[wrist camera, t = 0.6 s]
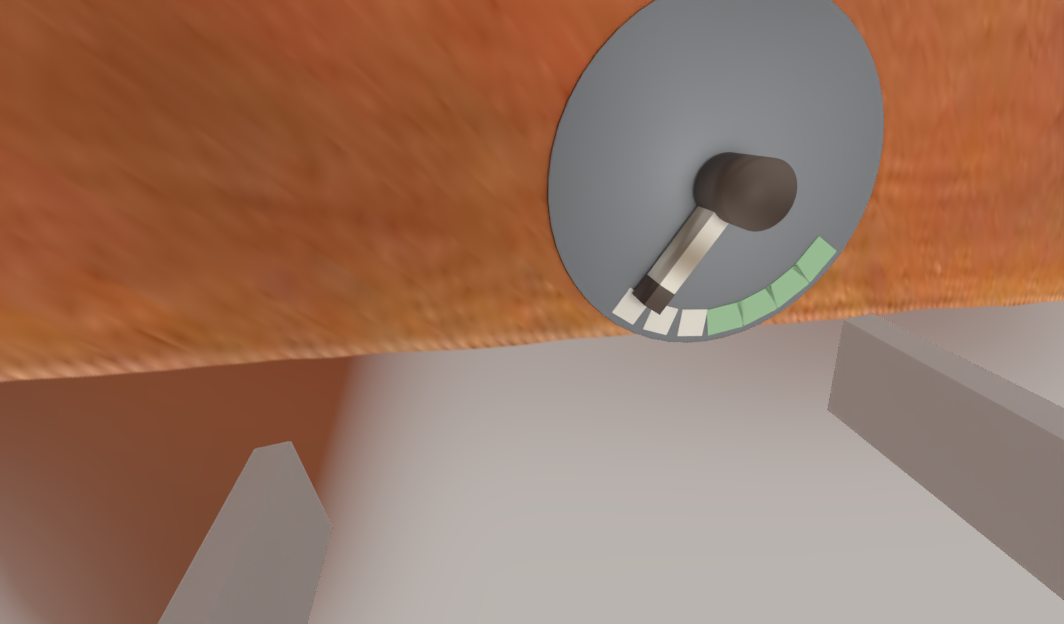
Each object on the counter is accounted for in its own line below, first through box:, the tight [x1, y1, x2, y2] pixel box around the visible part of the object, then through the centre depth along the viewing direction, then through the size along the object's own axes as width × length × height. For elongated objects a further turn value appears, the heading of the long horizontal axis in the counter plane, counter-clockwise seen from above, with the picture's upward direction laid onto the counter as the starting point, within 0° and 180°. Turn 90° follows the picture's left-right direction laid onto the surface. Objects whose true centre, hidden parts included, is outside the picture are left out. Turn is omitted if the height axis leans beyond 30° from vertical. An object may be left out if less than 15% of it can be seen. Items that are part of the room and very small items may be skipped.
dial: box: [548, 0, 884, 343], centre depth 36 cm, size 28×28×1 cm
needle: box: [632, 152, 797, 315], centre depth 35 cm, size 14×5×5 cm, turn 146°
